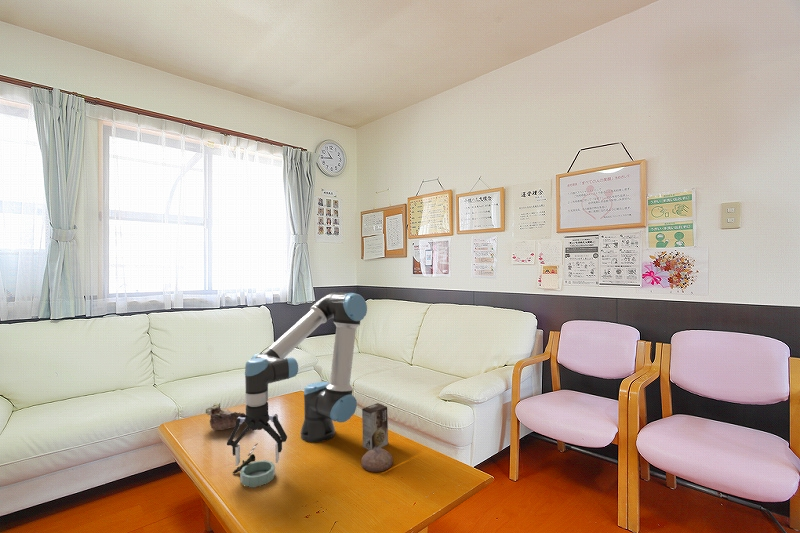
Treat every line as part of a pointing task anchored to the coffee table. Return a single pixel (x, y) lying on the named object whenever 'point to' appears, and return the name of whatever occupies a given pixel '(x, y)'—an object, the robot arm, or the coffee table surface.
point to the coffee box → (375, 426)
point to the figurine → (250, 459)
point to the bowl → (257, 473)
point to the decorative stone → (377, 460)
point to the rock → (222, 417)
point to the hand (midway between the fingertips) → (257, 462)
